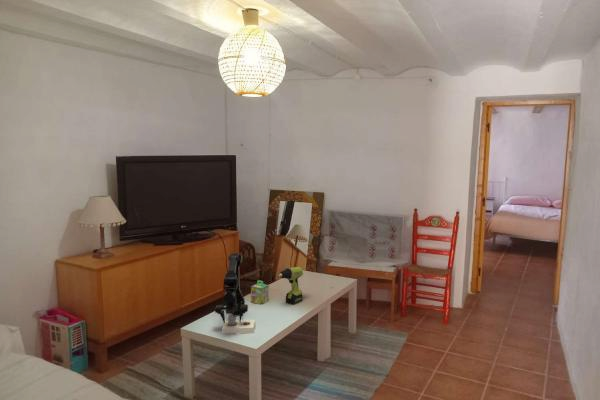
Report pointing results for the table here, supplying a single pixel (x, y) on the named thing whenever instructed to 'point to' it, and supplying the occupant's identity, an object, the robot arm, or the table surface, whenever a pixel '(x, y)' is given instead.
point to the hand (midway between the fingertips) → (232, 322)
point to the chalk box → (259, 293)
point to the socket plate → (239, 327)
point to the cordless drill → (293, 284)
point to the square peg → (232, 320)
